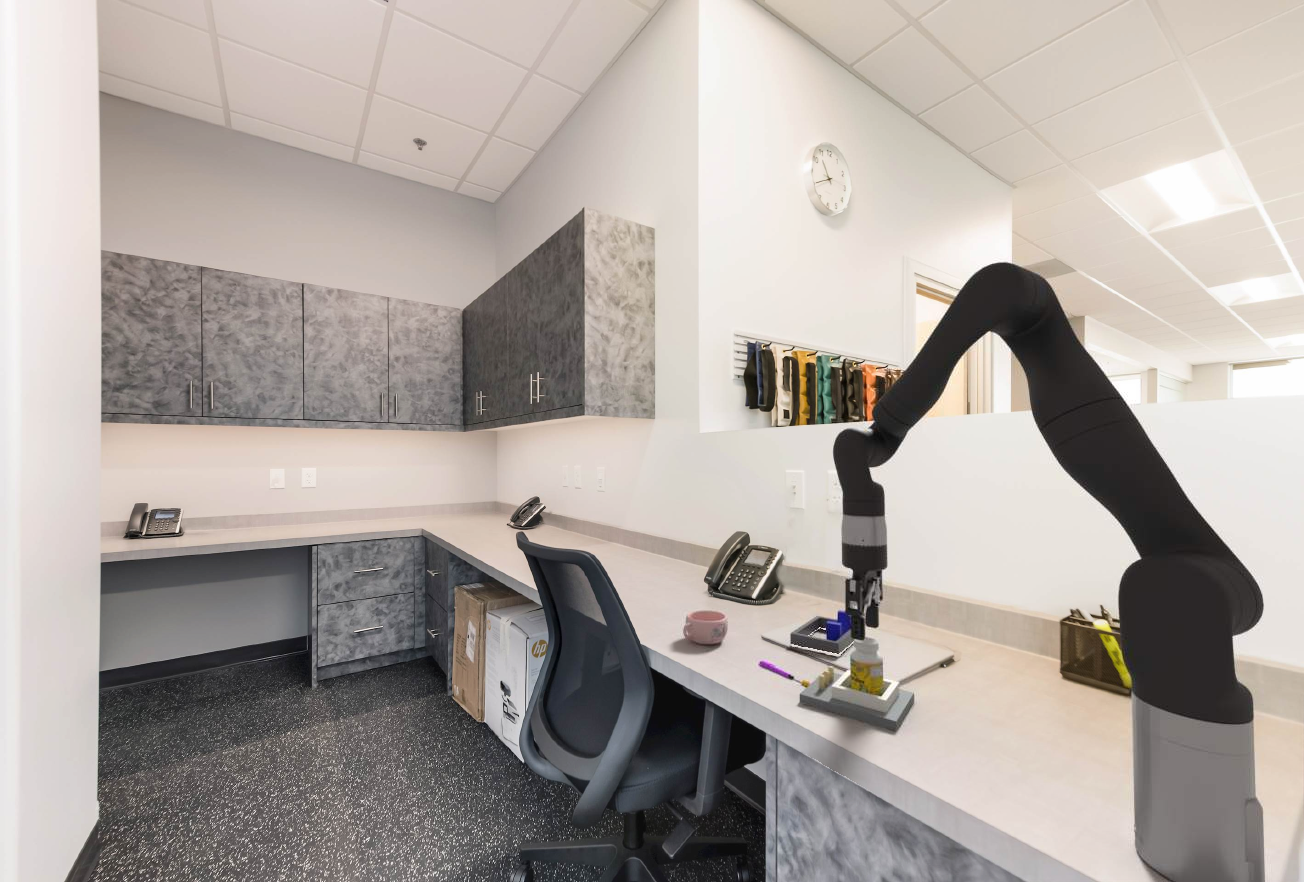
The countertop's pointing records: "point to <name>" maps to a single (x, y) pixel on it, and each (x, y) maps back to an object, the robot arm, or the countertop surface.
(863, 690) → the supplement bottle
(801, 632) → the tray
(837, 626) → the cable clip
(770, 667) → the purple handled brush
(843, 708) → the board
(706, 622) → the mug
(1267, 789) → the countertop surface
